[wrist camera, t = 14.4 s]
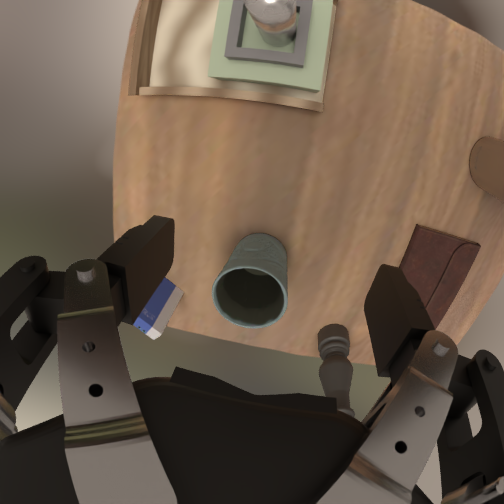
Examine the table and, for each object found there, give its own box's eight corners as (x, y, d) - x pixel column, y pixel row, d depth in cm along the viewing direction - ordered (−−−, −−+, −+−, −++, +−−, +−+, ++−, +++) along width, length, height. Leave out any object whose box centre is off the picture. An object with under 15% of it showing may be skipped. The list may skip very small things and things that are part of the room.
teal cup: (263, 290, 51) (254, 339, 41) (217, 256, 49) (196, 299, 38) (303, 253, 46) (304, 300, 36) (255, 214, 44) (241, 252, 34)
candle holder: (351, 325, 52) (366, 442, 31) (343, 346, 55) (351, 457, 34) (321, 322, 53) (324, 442, 31) (314, 344, 56) (313, 457, 34)
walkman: (146, 275, 53) (116, 314, 43) (152, 266, 52) (122, 306, 42) (177, 299, 55) (154, 342, 45) (184, 292, 54) (161, 335, 43)
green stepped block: (328, 10, 26) (336, -12, 19) (316, 93, 33) (322, 89, 26) (232, -1, 27) (217, -23, 20) (220, 80, 34) (201, 74, 26)
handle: (298, 20, 24) (298, -22, 13) (294, 49, 26) (293, 18, 15) (262, 16, 24) (245, -26, 14) (258, 45, 26) (238, 14, 16)
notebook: (374, 314, 51) (376, 321, 49) (415, 222, 41) (419, 227, 39) (434, 323, 50) (437, 329, 48) (477, 242, 40) (482, 247, 39)
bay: (336, 0, 26) (341, -12, 22) (319, 111, 35) (323, 112, 31) (160, -7, 28) (145, -16, 23) (144, 95, 37) (128, 95, 32)
